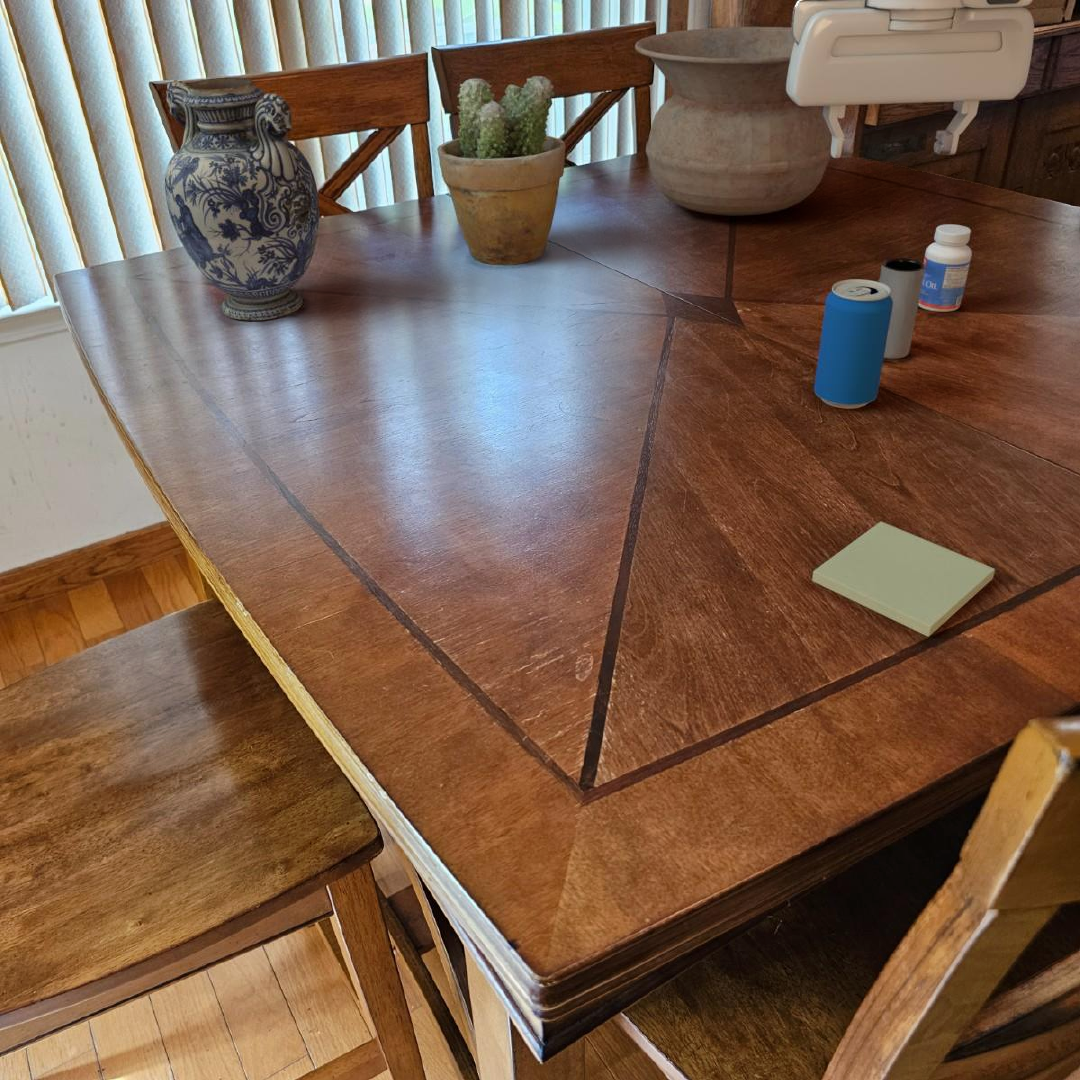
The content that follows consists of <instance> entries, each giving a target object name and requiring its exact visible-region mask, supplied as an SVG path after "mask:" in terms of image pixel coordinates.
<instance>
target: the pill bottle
mask: <svg viewBox="0 0 1080 1080" xmlns="http://www.w3.org/2000/svg"><path fill="white" fill-rule="evenodd" d="M934 232H935V233H934V236H933V239H934V241H935V242H932V243H931V244H928V246H927V247H926V249H925V253H924V257H923V261H922V263H923V264H924V265H925V271H924V276H923V282H922V287H921V292H920V298H919V303H918V307H920V308H922V309H924V310H926V311H931V312H935V313H936V312H937V313H947V312H954V311H956V310H958V309H959V308H960V307H961V304H962V301H963V296H964V291H965V287H966V283H967V279H968V275H969V270H970V265H971V260H972V254H973V251H972V249H971V247H970V246H968V245H967V244H968V243H969V242H970V238H971V233H972V229H970V227H968V226H964V225H960V224H952V223H950V224H947V223H946V224H940V225H938V226H937V227H936V228H935V231H934Z"/></svg>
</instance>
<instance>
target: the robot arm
mask: <svg viewBox="0 0 1080 1080" xmlns="http://www.w3.org/2000/svg"><path fill="white" fill-rule="evenodd" d="M1033 1H1034V0H796V3H795V5H794V7H793V10H792V15H791V16H792V17H791V27H790V28H791V33H792V37H793V39H794V41H795V42H794V46H793V50H792V54H791V59H790V64H789V69H788V75H787V82H786V91H787V94H788V95H789V97H790V98H791V99H792V101H793V102H795V103H796V104H797V105H799V106H824V109H823V116H824V118H825V120H826V123H827V125H828V127H829V130H830V132H831V134H832V144H831V157H832V158H834V159H846V158H851V157H852V154H853V150H852V148H853V146H854V139H855V138H854V137H853V136H852V135H851V134H849V133H844V131H843V129H842V127H841V125H840V122H839V119H844V118H845V114H846V107H847V106H858V105H859V106H861V105H888V104H891V105H893V104H917V103H920V104H921V103H946V102H947V103H948V102H949V103H951V102H953V107H952V109H953V110H954V111H956V114H955V115H954V117H953V118H952V120H951V121H950V123H949V124H948V125H947V126H946V129H944V130H936V132H935V138H934V139H935V142H934V144H933V152H934V153H935V154H937V155H943V156H944V155H955V154H956V152H957V149H958V144H959V139H960V136H961V135H962V134H963V132H964V131H965V130H966V129H967V127H968V126H969V125H970V123H971V122H972V121H973V119H974V118H975V117H976V116H977V114H978V109H979V106H980V105H979V104H980V102H981V101H1001V100H1002V101H1005V100H1007V101H1008V100H1014V99H1015V98H1016V97H1017V96H1018V94H1020V92H1021V91H1022V90H1023V89H1024V88H1025V86H1026V84H1027V80H1028V77H1029V71H1030V68H1031V67H1030V66H1031V61H1032V55H1033V47H1034V39H1035V22H1034V18H1033V15H1032V13H1031V12H1030V11H1029V9H1027V8H1025V7H1026V6H1029V5H1030V4H1032V3H1033Z"/></svg>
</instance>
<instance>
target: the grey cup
mask: <svg viewBox="0 0 1080 1080" xmlns="http://www.w3.org/2000/svg"><path fill="white" fill-rule="evenodd" d="M924 271H925V265H924V264H923V261H920V260H917V259H914V258H908V257H893V258H888V259H885V260H883V262H882V263H881V268H880V274H879V281H878V282H880V283H882V284H885V285H886V286H888V287H889V288H890V290H891V292H890V297H891V298H892V301H893V308H892V313H891V319H890V325H889V330H888V336H887V342H886V348H885V353H884V359H889V360H890V359H892V360H894V359H902V358H905V357H907V356H908V355H909V354H910V350H911V345H912V341H913V335H914V329H915V326H916V325H915V323H916V320H917V319H916V318H917V315H918V314H917V313H918V308H919V305H918V303H919V298H920V292H921V287H922V282H923V276H924Z"/></svg>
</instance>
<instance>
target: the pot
mask: <svg viewBox="0 0 1080 1080" xmlns="http://www.w3.org/2000/svg"><path fill="white" fill-rule="evenodd" d="M794 42H795V41H794V39H793V37H792V33H791V27H786V26H785V27H784V26H783V27H782V26H731V27H730V26H729V27H710V28H695V29H687V30H686V29H685V30H677V31H676V30H675V31H670V32H669V31H668V32H663V33H659V34H653V35H650V36H647V37H644V38H641V39H639V40H637V41H636V43H635V46H634V49H635V50H636V51H637V52H638V53H639V54H641V55H643V56H645V57H649V59H650V60H651V61H652V62H653V63H654V65H655V66H656V68H657V69H658V70H659V71H660V72H661V74H662V75H663V76H664V77H665V78H666V80H667V81H668V82H669V84H670V85H671V88H672V90H673V92H674V93H673V95H672V96H671V97H669V98H668V99H667V100H665V101H664V102H663V104H661V105H660V106H659V108H658V109H657V111H656V113H655V115H654V118H653V121H652V123H651V127H650V131H649V134H648V135H649V136H648V140H647V142H646V146H645V153H646V156H647V160H648V165H649V170H650V174H651V176H652V179H653V181H654V183H655V185H656V186H657V188H658V191H659V192H660V193H661V194H663V196H664V197H665V198H666V199H667V200H669V201H670V202H671V203H674V204H676V205H678V206H680V207H682V208H685V209H687V210H690V211H693V212H699V213H703V214H710V215H716V216H717V215H719V216H756V215H765V214H770V213H775V212H779V211H783V210H785V209H788V208H791V207H793V206H795V205H798V204H799V203H801V202H802V201H804V200H805V199H806V198H807V197H808V196H810V195H811V194H813V192H814V191H815V190H816V188H817V187H818V186H819V184H820V183H821V181H822V179H823V176H824V174H825V171H826V170H827V167H828V164H829V161H830V159H831V157H832V156H831V144H832V136H833V135H832V134H831V132H830V130H829V127H828V125H827V123H826V120H825V118H824V116H823V109H824V106H799V105H797V104H796V103H795V102H793V101H792V99H791V98H790V97H789V95H788V94H787V91H786V82H787V75H788V69H789V64H790V59H791V54H792V50H793V46H794Z"/></svg>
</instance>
